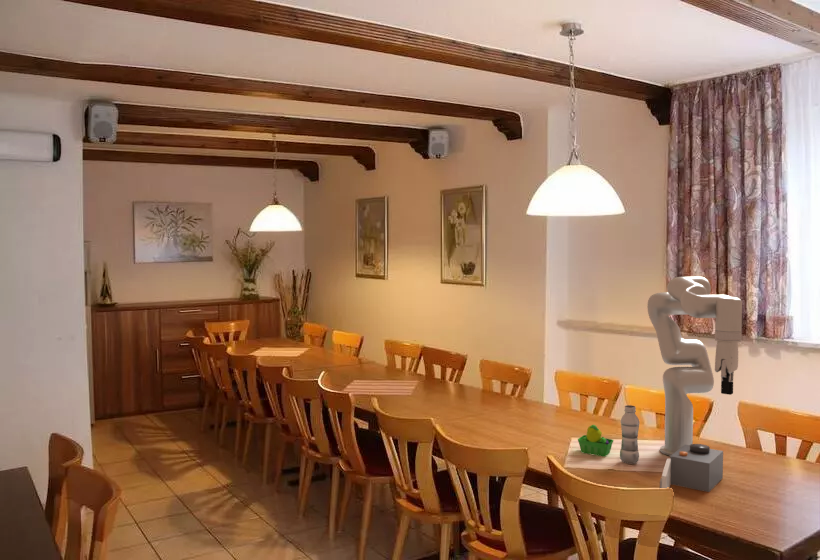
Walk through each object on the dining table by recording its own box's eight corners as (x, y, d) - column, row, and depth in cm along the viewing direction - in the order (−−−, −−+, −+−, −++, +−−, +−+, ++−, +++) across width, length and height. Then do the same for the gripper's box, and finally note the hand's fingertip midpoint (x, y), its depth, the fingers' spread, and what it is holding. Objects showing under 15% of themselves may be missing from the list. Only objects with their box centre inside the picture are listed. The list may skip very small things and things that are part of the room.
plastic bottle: (635, 459, 247) (635, 404, 246) (641, 465, 241) (642, 408, 239) (617, 459, 247) (617, 404, 246) (623, 466, 240) (624, 408, 239)
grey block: (684, 470, 235) (685, 439, 235) (722, 478, 228) (723, 446, 227) (669, 483, 223) (670, 451, 222) (708, 492, 215) (709, 458, 215)
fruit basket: (614, 453, 255) (614, 422, 255) (606, 459, 248) (606, 428, 247) (584, 448, 262) (584, 418, 261) (575, 454, 254) (575, 423, 254)
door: (670, 483, 222) (671, 459, 221) (665, 503, 205) (666, 476, 205) (664, 482, 222) (665, 458, 222) (659, 502, 206) (659, 475, 206)
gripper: (721, 332, 228) (720, 388, 229) (709, 338, 216) (707, 396, 217) (746, 334, 223) (745, 391, 224) (734, 340, 212) (733, 399, 213)
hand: (727, 393), depth 221 cm, fingers closed
